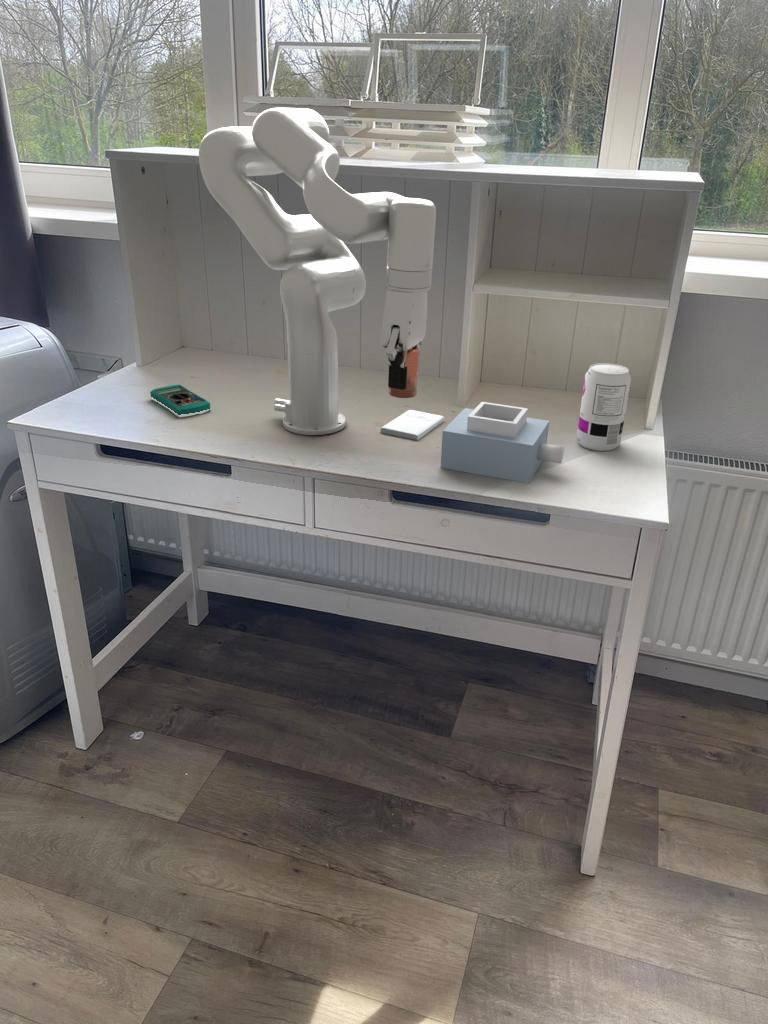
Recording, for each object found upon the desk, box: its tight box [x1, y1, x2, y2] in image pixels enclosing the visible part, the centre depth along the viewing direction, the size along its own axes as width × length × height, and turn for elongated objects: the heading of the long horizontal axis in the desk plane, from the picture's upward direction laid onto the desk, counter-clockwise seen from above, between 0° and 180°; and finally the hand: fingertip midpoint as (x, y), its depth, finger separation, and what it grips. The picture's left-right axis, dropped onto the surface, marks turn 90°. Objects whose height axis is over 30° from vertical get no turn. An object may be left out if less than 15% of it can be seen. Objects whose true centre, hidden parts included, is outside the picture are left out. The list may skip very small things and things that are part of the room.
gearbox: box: [440, 401, 565, 484], centre depth 139 cm, size 20×13×10 cm, turn 67°
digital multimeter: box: [149, 384, 211, 415], centre depth 166 cm, size 7×15×3 cm, turn 38°
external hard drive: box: [380, 409, 445, 441], centre depth 157 cm, size 2×8×12 cm
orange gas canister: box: [388, 345, 421, 399], centre depth 137 cm, size 5×5×10 cm
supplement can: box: [576, 362, 632, 452], centre depth 147 cm, size 8×8×15 cm
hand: (403, 382), depth 138 cm, fingers closed on orange gas canister, 5 cm apart
